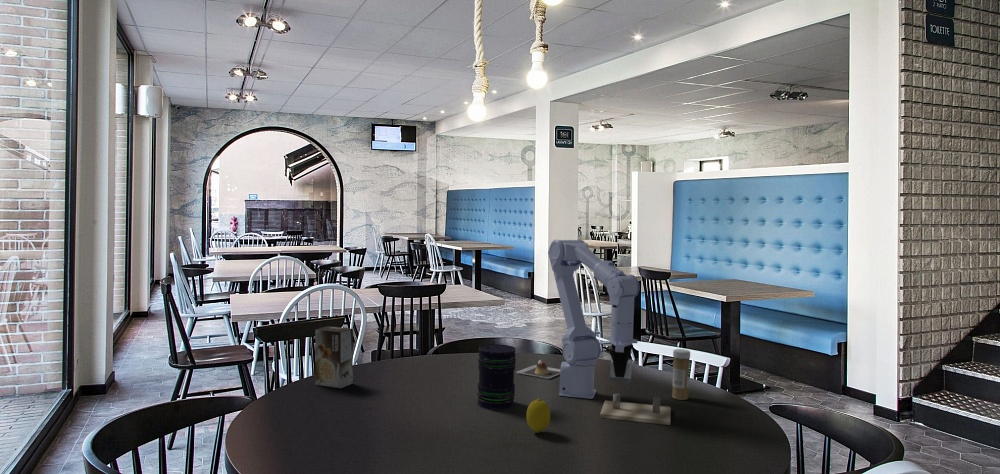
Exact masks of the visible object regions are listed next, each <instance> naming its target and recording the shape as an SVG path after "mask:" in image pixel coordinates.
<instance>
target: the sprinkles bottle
mask: <svg viewBox="0 0 1000 474" xmlns="http://www.w3.org/2000/svg"><path fill="white" fill-rule="evenodd" d="M690 351H691V350H688V349H685V348H684V349H682V348H677V349H673V351H672V352H673V353H672V356H673V363H672V364H673V368H672V394H671V398H673V399H674V400H679V401H685V400H688V399H689V398H690V397H689V386H690V359H691V352H690Z"/></svg>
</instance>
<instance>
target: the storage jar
mask: <svg viewBox="0 0 1000 474" xmlns="http://www.w3.org/2000/svg"><path fill="white" fill-rule="evenodd" d="M477 361H478V362H477V363H478V365H477V368H478V376H479V377H478V383H477V406H478V408H479V407H480V408H481V409H485V410H490V411H491V410H492V411H503V410H504V411H505V410H508V409H512V408H513V407H514V406H515V401H514V400H515V394H516V393H515V392H516V391H515V389H516V384H515V381H514V380H515V371H516V363H517V361H516V347H515V346H513V345H509V344H500V343H499V344H498V343H497V344H494V343H492V344H482V345H480V346H479V347H478V358H477Z"/></svg>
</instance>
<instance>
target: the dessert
mask: <svg viewBox="0 0 1000 474" xmlns="http://www.w3.org/2000/svg"><path fill="white" fill-rule="evenodd" d="M533 369H535V370H534V374H530V373H526V372H528V371H531V370H533ZM549 371H551V372H552V371H553V372H559V373H556V374H554V375H551V376H550V377H546V376H547V375H549V374H550V373H549ZM515 373H517V374H518V375H524V376H531V377H536V378H540V379H545V380H550V379H552V378H555V377H556V376H560V368H554V367H549V366H548V365H547V364H546V362H545V361H544V359H540V360H538V362H537V364H534V365H531V366H528V367H526V368H523V369H520V370H517V371H515ZM535 374H536V375H535ZM544 375H546V376H544Z"/></svg>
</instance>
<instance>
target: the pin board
mask: <svg viewBox="0 0 1000 474" xmlns="http://www.w3.org/2000/svg"><path fill="white" fill-rule="evenodd" d="M671 409H672V407H671V406H664V405H661V398H660V397H653V398H652V404H647V403H646V404H645V403H635V402H623V401H621V394H620V393H613V394H612V400H604V402H603V405H602V407H601V411H600V412H599V413H600V414H599V418H601V419H608V420H619V421H627V422H628V421H629V422H637V423H648V424H655V425H656V424H657V425H666V426H667V425H668V426H670V425H671V417H672V416H671V414H672V413H671V411H672V410H671Z"/></svg>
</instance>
